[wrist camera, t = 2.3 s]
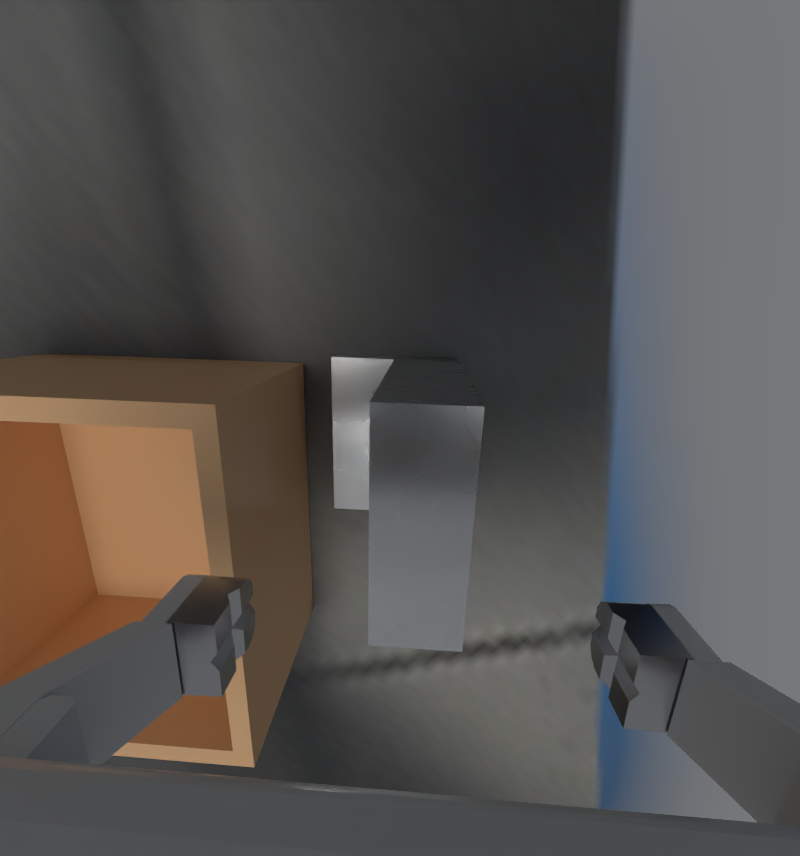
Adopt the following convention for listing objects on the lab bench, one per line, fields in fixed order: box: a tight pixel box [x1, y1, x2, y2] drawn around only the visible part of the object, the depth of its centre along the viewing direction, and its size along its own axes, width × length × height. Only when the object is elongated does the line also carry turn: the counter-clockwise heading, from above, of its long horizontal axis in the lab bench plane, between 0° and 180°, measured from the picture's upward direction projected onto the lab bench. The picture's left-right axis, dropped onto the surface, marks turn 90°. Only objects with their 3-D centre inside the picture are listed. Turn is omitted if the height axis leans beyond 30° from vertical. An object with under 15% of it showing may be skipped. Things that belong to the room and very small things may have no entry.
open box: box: [0, 354, 313, 767], centre depth 19 cm, size 15×14×9 cm
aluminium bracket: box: [331, 354, 485, 652], centre depth 17 cm, size 8×6×10 cm
